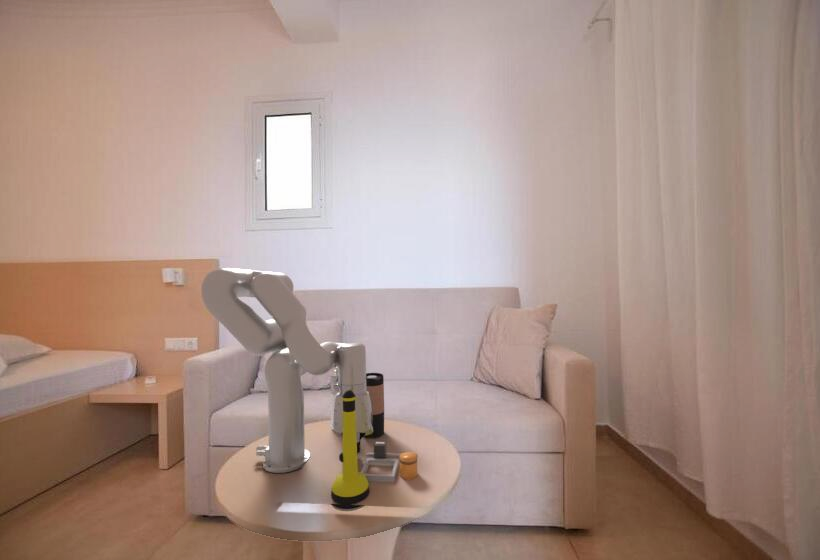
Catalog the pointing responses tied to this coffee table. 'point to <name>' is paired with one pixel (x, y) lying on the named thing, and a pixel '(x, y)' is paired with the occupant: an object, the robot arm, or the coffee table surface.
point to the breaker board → (381, 463)
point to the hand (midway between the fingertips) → (354, 454)
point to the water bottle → (333, 391)
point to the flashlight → (349, 463)
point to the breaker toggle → (380, 450)
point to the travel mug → (376, 403)
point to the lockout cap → (408, 465)
